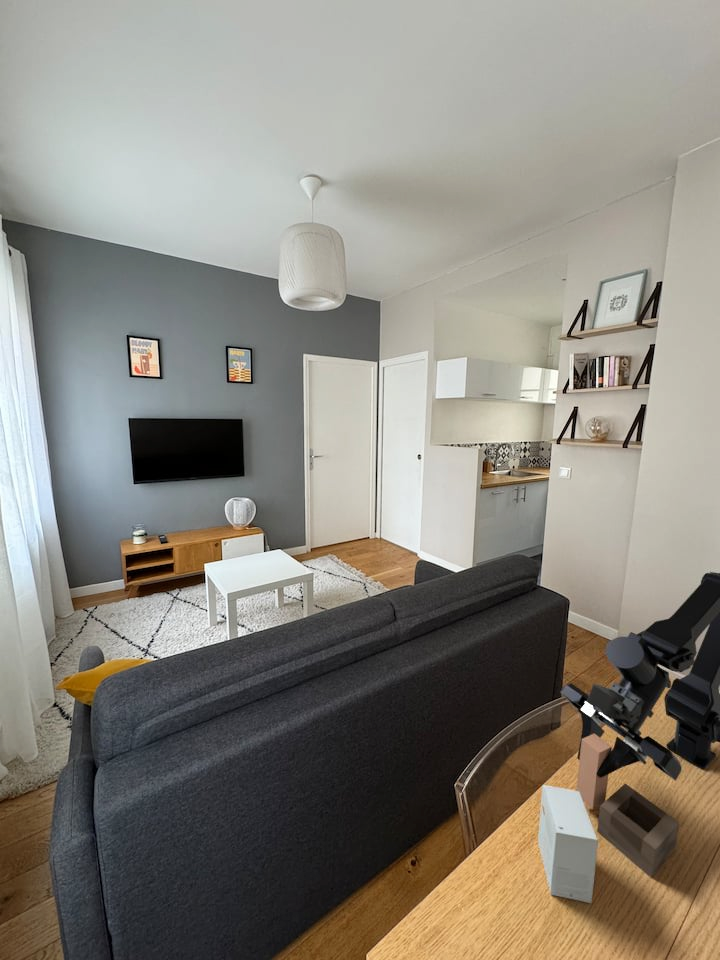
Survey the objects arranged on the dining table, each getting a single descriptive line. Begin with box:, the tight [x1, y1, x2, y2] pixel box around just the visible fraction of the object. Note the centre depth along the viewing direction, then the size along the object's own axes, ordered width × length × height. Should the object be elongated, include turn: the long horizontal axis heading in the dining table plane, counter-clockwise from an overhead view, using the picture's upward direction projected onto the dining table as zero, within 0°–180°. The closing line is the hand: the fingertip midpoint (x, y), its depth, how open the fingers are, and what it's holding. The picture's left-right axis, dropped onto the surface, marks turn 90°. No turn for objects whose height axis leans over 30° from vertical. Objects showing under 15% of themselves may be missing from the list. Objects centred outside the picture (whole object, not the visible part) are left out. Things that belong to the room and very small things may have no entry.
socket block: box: [596, 783, 680, 878], centre depth 66 cm, size 8×8×5 cm
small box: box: [537, 784, 599, 904], centre depth 61 cm, size 8×6×10 cm
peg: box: [575, 734, 613, 810], centre depth 70 cm, size 3×3×11 cm
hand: (588, 767), depth 69 cm, fingers closed on peg, 3 cm apart
